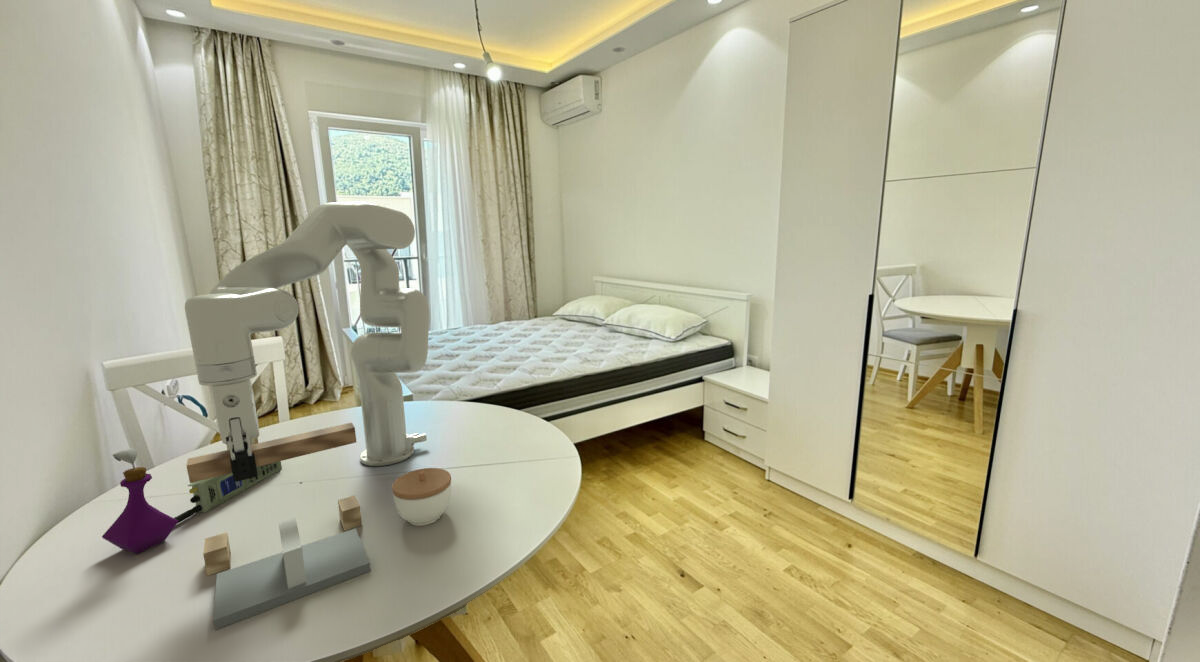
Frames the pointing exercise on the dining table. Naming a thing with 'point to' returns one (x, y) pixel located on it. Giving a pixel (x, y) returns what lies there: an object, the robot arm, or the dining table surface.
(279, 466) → the handheld radio
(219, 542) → the bar rest
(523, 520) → the dining table surface
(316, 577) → the stand
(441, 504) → the lidded jar
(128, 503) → the purple potion bottle
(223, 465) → the walnut bar
